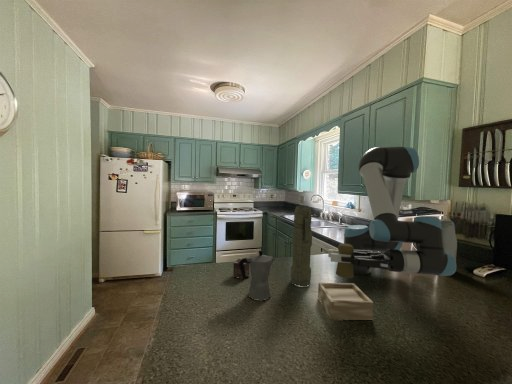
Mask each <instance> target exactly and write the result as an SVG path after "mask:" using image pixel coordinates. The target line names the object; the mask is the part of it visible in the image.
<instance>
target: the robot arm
mask: <svg viewBox="0 0 512 384" xmlns="http://www.w3.org/2000/svg"><path fill="white" fill-rule="evenodd" d="M419 165H420V156H419V153H418V152H417V150H416V149H415V148H414V147H411V146H410V147H409V146H376V147H372V148H370V149H368V150H367V151H366V152H364V154H362V157H360V160H359V162H358V173H359V175H360V177H362V178H363V182H364V186H365V189H366V193H367V197H368V198H367V199H368V201H369V206H370V209H371V212H372V216H373V219H371V221H370V222H369V226H367V225H365V224H353V225H352V224H351V225H348V226H346V227H345V228H344V232H343V244H350V245H352V246H353V248H354V252H353V254H352V255H346V254H339V251H338V249H329V248H328V258H330V262H332V263H333V262H334V263H338V262H343V263H352V264H353V273H354V275H363V276H364V275H369V274H371V269H372V268H373V269H382V270H384V271H385V270H387V271H389V272H392V273H393V272H395V273H401V272H402V273H407V274H408V275H411V274H419V275H430V276H446V277H447V276H448V277H449V276H453V275H454V274H455V273H456V272H457V261H456V262H455V261H454V257H453V256H452V255H451V254H449V253H446V252H445V250H444V247H443V234H442V225H441V221H440V219H441V218H439V217H437V216H434V215H433V216H432V215H431V216H430V215H429V216H428V215H427V216H426V215H424V216H422V215H421V216H415V217H414V219H413V220H412V221H411V220H410V221H409V220H407V221H406V220H399V215H400V209H401V204H402V201H403V196H404V195H403V194H404V190H405V185H406V184H405V183H406V181H407V180H408V179H410V178H411V174H413V173H416V172H417V171H418V169H419ZM403 243H407V244H415V247H416V250H414V249H413V250H412V249H402V247H403Z"/></svg>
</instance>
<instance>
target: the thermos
mask: <svg viewBox="0 0 512 384" xmlns="http://www.w3.org/2000/svg"><path fill="white" fill-rule="evenodd" d="M293 213H294V214H293V217H294V218H293V223H294V224H293V229H292V231H291V233H292V234H291V245H292V260H291V262H292V263H291V267H290V283H291V282H292V283H293V284H296V285H300V286H307V285H309V284H310V285H311V278H312V268H311V250H312V246H313V231H312V226H311V225H312V215H313V214H312V210H311V207H310V206H309V205H303V204H302V205H300V204H299V205H297V206H295V209H294V211H293Z"/></svg>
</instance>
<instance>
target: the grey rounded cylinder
mask: <svg viewBox="0 0 512 384" xmlns="http://www.w3.org/2000/svg"><path fill="white" fill-rule="evenodd" d="M439 219H440V221H441V225H442V234H443V247H444V250H445V252H446V253H449V254H451V255H452V256H453V257H454V261H455V262H456V263H457V251H458V250H457V249H458V239H457V235H456V226H455V223H454V221H453V220H452V219H448V218H439Z"/></svg>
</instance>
